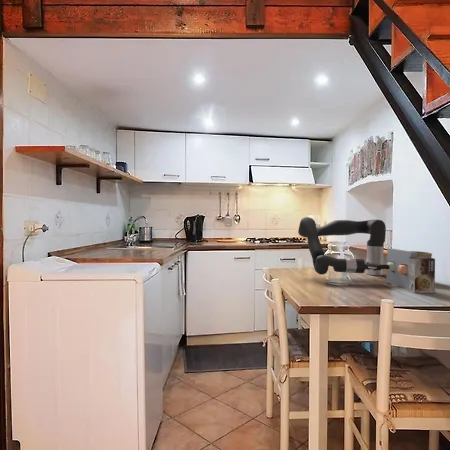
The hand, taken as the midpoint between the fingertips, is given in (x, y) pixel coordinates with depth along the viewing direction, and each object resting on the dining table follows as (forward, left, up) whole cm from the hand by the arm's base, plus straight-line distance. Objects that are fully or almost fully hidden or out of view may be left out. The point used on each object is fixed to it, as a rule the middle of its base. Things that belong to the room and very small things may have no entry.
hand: (388, 266), depth 181 cm
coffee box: (+19, +5, -9) cm, 22 cm away
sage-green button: (0, +4, -2) cm, 4 cm away
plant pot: (-6, +19, -9) cm, 22 cm away
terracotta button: (+10, +4, -2) cm, 11 cm away
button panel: (+5, +4, -9) cm, 11 cm away
